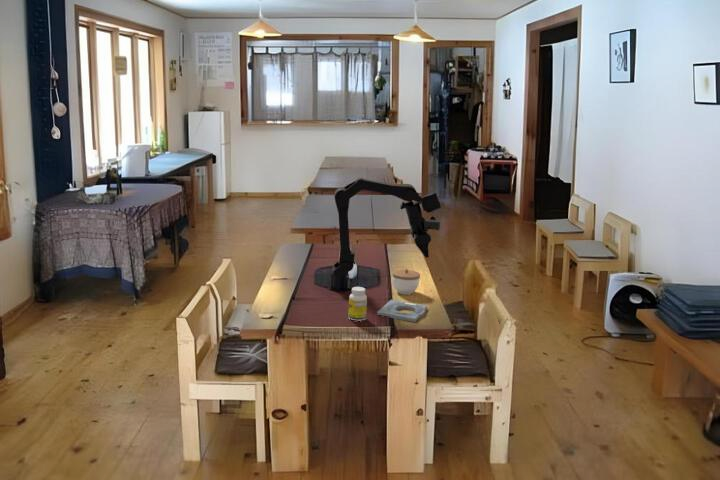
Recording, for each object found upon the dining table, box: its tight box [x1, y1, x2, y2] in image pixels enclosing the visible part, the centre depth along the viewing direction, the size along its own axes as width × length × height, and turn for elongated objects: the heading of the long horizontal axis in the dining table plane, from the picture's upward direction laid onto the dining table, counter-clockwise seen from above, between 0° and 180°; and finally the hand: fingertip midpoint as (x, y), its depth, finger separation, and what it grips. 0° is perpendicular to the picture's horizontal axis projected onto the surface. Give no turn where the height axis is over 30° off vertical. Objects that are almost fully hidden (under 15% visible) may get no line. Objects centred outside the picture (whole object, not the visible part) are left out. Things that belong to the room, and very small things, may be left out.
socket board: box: [376, 299, 428, 323], centre depth 274 cm, size 15×16×1 cm
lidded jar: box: [392, 268, 421, 296], centre depth 296 cm, size 11×11×9 cm
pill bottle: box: [347, 286, 368, 322], centre depth 263 cm, size 6×6×11 cm
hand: (425, 254), depth 294 cm, fingers open, 9 cm apart
